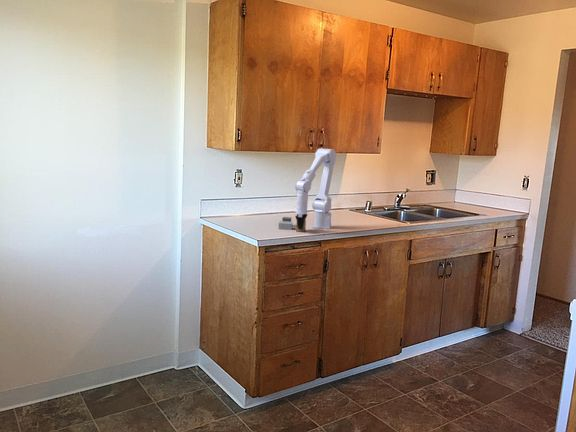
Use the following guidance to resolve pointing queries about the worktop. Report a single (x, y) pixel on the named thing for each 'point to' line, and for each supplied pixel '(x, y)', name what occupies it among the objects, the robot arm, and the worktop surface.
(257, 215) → the worktop surface
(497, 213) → the worktop surface
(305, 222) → the walnut block
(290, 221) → the charcoal block
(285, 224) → the slate base block
